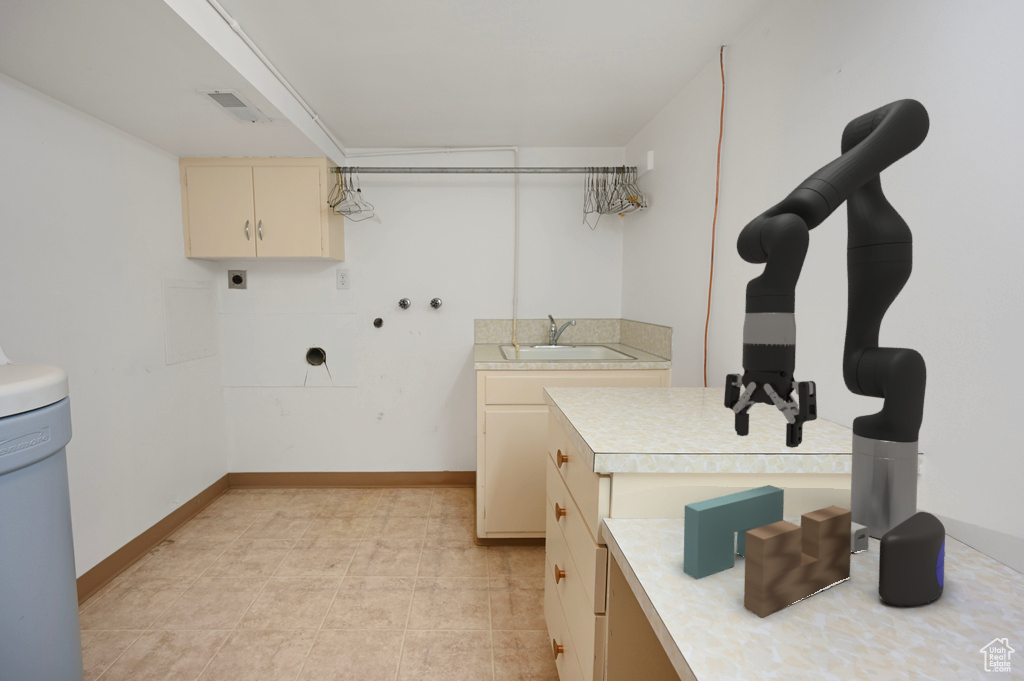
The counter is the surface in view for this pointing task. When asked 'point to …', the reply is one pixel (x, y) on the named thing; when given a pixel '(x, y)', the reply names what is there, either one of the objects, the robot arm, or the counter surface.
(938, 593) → the black rounded block
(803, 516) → the brown flat u-shaped block
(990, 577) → the counter surface
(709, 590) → the counter surface
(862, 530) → the usb wall charger
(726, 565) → the teal plate
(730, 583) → the counter surface
